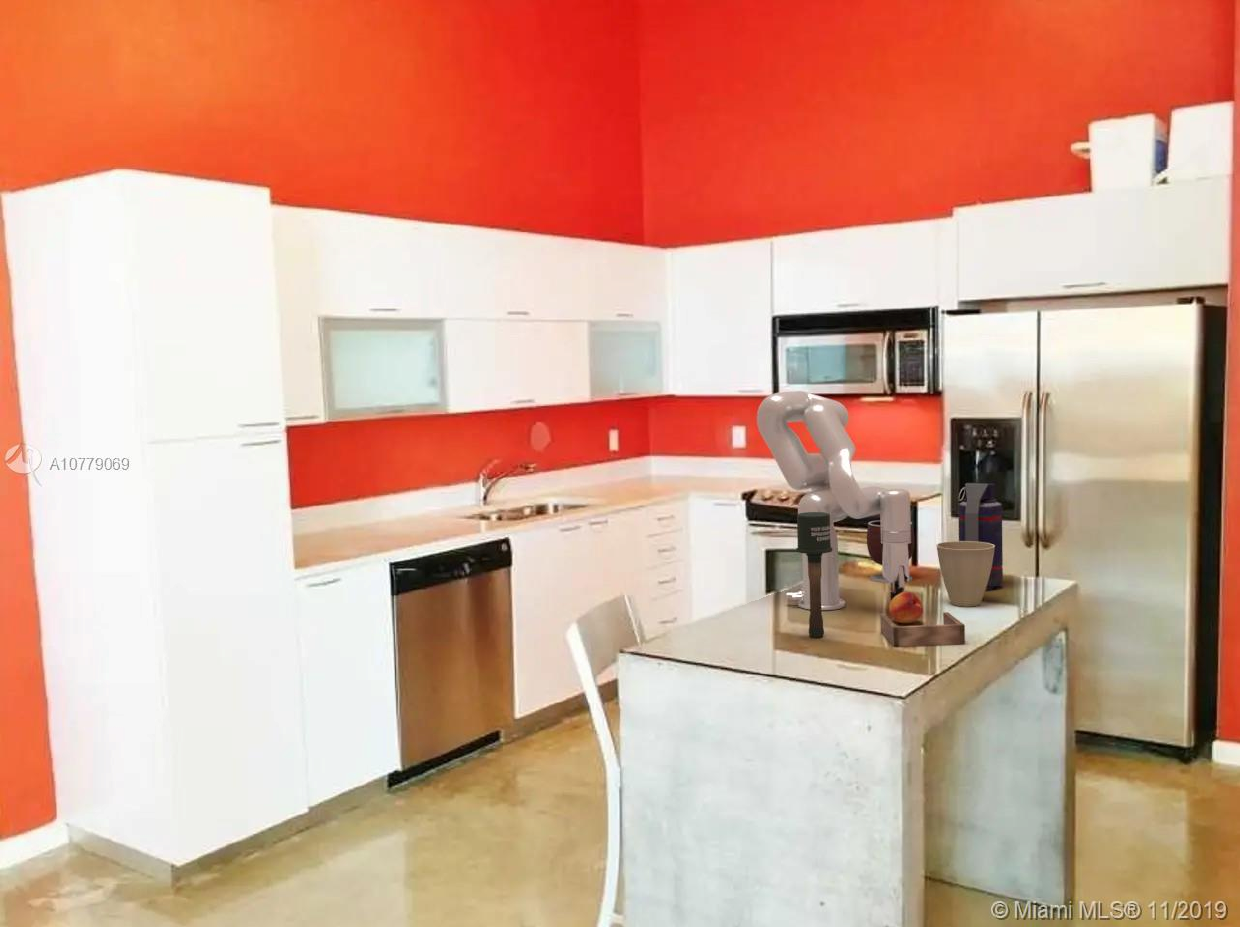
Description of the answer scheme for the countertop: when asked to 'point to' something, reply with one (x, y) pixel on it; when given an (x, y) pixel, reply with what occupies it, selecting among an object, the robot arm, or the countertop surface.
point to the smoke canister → (983, 524)
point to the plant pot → (965, 570)
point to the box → (924, 633)
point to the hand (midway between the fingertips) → (897, 607)
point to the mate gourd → (881, 548)
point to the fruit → (905, 607)
